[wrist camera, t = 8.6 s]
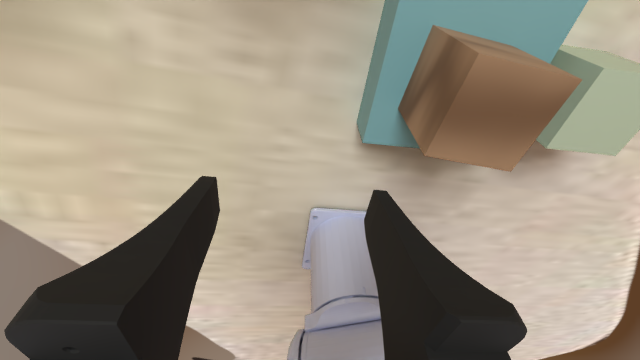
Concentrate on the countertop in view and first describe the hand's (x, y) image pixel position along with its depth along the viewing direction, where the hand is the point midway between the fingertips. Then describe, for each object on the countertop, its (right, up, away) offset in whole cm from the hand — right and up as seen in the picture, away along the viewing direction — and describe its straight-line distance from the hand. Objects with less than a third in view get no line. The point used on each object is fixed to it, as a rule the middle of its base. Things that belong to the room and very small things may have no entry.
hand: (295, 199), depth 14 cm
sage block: (+18, +8, +8) cm, 21 cm away
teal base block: (+10, +9, +7) cm, 15 cm away
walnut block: (+9, +7, +4) cm, 12 cm away
